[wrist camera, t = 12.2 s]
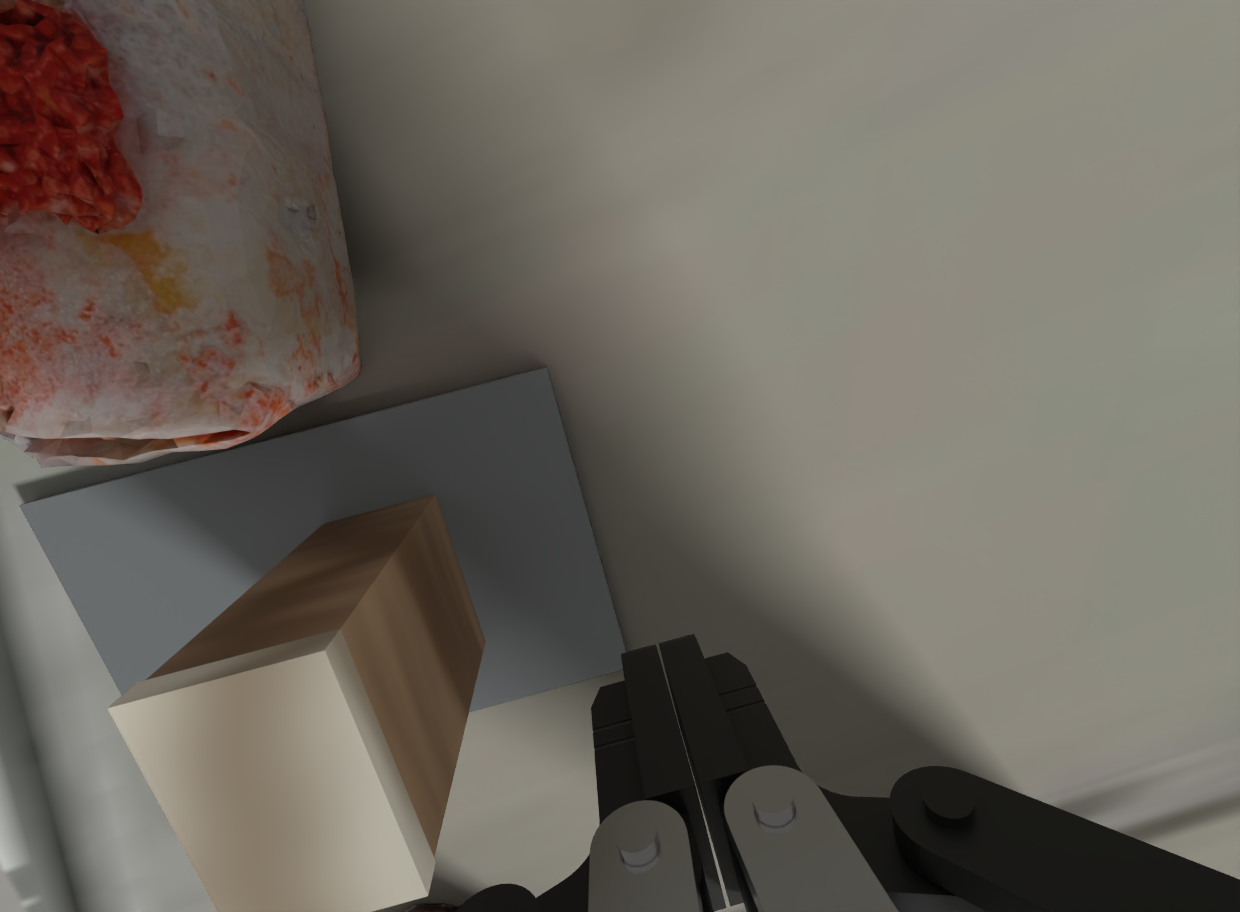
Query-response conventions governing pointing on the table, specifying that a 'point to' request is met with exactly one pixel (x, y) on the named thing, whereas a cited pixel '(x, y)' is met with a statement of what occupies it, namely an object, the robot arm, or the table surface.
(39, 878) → the table surface
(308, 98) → the food item
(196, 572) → the mat
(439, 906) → the flask
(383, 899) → the wooden block
